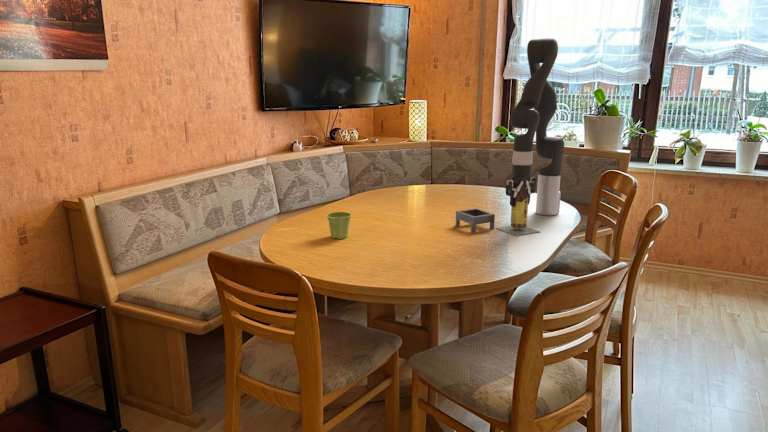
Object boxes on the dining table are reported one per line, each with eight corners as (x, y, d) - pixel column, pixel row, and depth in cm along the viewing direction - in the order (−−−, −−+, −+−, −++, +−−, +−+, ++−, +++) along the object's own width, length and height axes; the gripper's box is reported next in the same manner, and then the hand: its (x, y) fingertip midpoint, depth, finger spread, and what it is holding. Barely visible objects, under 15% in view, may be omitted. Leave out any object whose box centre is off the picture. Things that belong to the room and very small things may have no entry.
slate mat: (519, 224, 234) (519, 224, 234) (540, 232, 224) (540, 231, 224) (496, 228, 229) (496, 227, 228) (516, 236, 218) (516, 235, 218)
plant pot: (332, 241, 211) (332, 219, 209) (323, 235, 219) (322, 213, 217) (355, 238, 215) (355, 216, 213) (345, 232, 224) (345, 210, 221)
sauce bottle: (526, 229, 222) (530, 178, 217) (510, 228, 224) (513, 178, 219) (526, 224, 229) (529, 175, 224) (510, 224, 230) (512, 174, 225)
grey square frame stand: (475, 222, 238) (476, 208, 237) (494, 228, 228) (494, 214, 227) (455, 225, 233) (456, 211, 232) (473, 232, 224) (473, 217, 222)
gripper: (529, 159, 226) (526, 201, 231) (501, 162, 219) (498, 205, 224) (543, 162, 220) (540, 205, 224) (514, 165, 213) (512, 209, 217)
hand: (519, 205), depth 224 cm, fingers closed on sauce bottle, 6 cm apart
